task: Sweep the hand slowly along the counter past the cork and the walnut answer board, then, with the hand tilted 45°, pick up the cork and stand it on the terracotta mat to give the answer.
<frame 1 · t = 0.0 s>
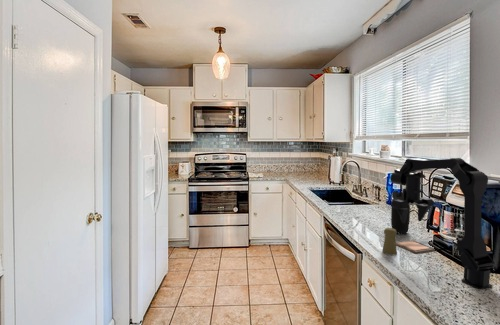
hand: (411, 222, 129), 15 cm above the worktop, tool pointing down, fingers open, 9 cm apart
portable speaker: (399, 232, 161), on the worktop
answer board: (421, 246, 140), on the worktop
cork: (389, 252, 133), on the worktop
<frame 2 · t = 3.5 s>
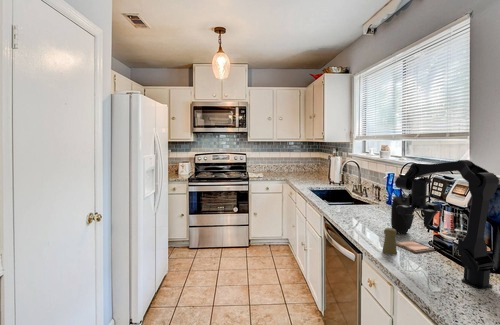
hand: (417, 227, 126), 13 cm above the worktop, tool pointing down, fingers open, 9 cm apart
nothing on the worktop moved.
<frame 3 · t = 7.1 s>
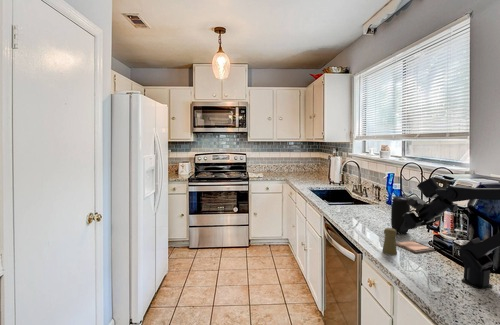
hand: (407, 228, 125), 13 cm above the worktop, tool tilted 45°, fingers open, 9 cm apart
nothing on the worktop moved.
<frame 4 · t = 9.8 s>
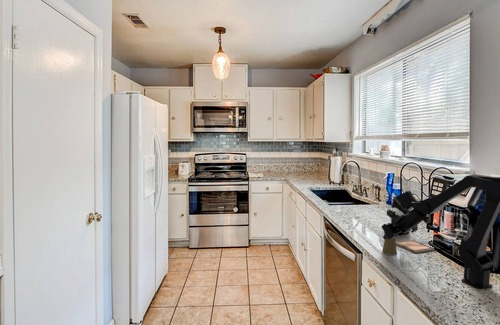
hand: (387, 237, 133), 7 cm above the worktop, tool tilted 45°, fingers closed on cork, 5 cm apart
cork: (389, 252, 133), on the worktop, touching gripper
everything else where it was.
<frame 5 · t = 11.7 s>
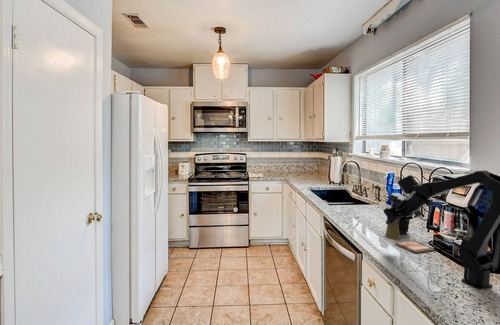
hand: (390, 222, 134), 13 cm above the worktop, tool tilted 45°, fingers closed on cork, 5 cm apart
cork: (392, 238, 133), point 6 cm above the worktop, touching gripper
everything else where it was.
when the fingers open (9 cm above the worktop, at t = 14.0 s): cork drops 1 cm, resting on answer board.
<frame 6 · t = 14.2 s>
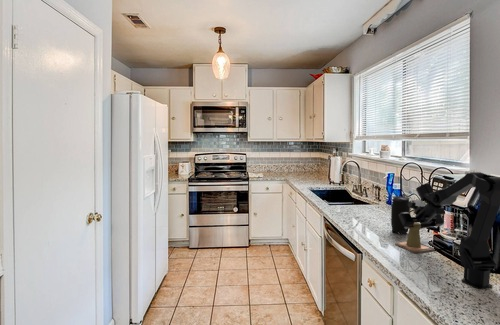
hand: (412, 227, 139), 9 cm above the worktop, tool tilted 45°, fingers open, 7 cm apart
cork: (413, 245, 138), point 1 cm above the worktop, touching answer board
everything else where it was.
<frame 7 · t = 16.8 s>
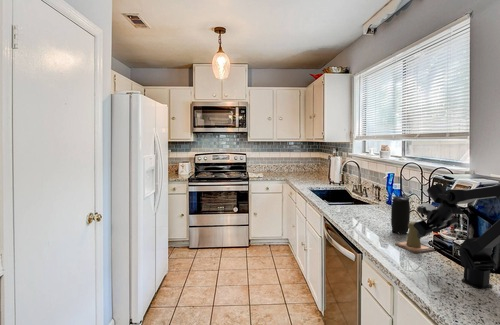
hand: (425, 234, 128), 9 cm above the worktop, tool tilted 40°, fingers open, 9 cm apart
nothing on the worktop moved.
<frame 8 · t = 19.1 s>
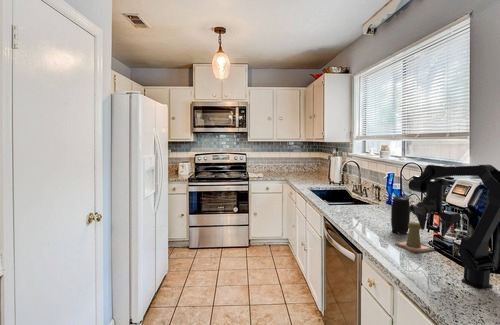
hand: (432, 232, 120), 13 cm above the worktop, tool pointing down, fingers open, 9 cm apart
nothing on the worktop moved.
at the end: cork inside the target area on the answer board (0.4 cm from its centre), point 0.9 cm above the answer board's base; cork tilted 0°; the gripper is holding nothing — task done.
